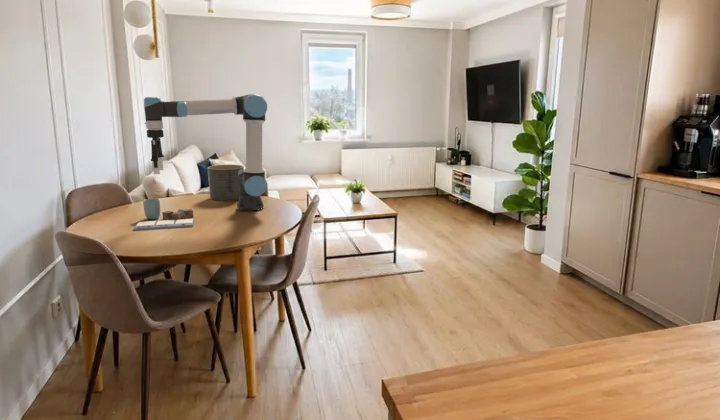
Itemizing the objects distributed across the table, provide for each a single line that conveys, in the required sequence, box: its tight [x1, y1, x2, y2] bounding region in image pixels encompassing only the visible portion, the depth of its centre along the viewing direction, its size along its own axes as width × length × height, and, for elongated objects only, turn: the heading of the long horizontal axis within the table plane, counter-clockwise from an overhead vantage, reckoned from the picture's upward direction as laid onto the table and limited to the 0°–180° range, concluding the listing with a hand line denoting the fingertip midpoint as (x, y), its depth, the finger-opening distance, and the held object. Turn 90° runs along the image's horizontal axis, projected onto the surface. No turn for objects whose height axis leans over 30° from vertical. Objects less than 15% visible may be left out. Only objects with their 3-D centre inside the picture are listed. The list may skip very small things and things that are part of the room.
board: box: [133, 218, 195, 231], centre depth 229 cm, size 27×12×1 cm, turn 106°
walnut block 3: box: [183, 208, 194, 219], centre depth 245 cm, size 4×4×4 cm
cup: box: [142, 198, 161, 220], centre depth 241 cm, size 8×8×10 cm
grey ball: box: [177, 208, 185, 216], centre depth 248 cm, size 4×4×4 cm
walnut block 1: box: [161, 210, 175, 221], centre depth 241 cm, size 4×4×4 cm
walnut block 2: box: [171, 211, 184, 220], centre depth 238 cm, size 4×4×4 cm
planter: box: [207, 164, 245, 202], centre depth 291 cm, size 22×22×20 cm
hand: (158, 172), depth 228 cm, fingers open, 13 cm apart
